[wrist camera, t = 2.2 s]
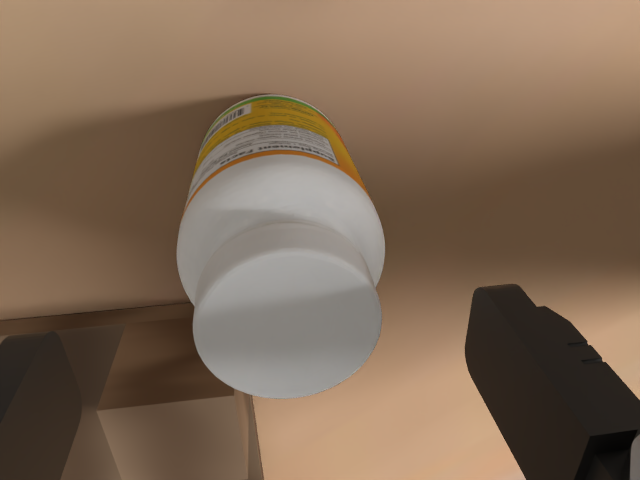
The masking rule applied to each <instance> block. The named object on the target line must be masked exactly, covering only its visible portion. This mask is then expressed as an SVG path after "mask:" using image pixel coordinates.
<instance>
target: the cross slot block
mask: <svg viewBox="0 0 640 480" xmlns="http://www.w3.org/2000/svg"><path fill="white" fill-rule="evenodd" d="M194 308H195V306H194V305H193V304H192V303H184V304H173V305H163V306H152V307H142V308H131V309H121V310H110V311H100V312H89V313H79V314H69V315H58V316H48V317H37V318H27V319H16V320H6V321H0V344H1V343H2V341H3V340H4V339H5V338H6V337H8V336H11V335H20V334H29V333H39V332H48V331H54V332H56V333H57V334H58V335H59V337H60V339H61V341H62V344H63V347H64V349H65V352H66V355H67V357H68V360H69V363H70V365H71V368H72V370H73V373H74V376H75V378H76V381H77V384H78V386H79V389H80V393H81V400H82V411H81V419H80V423H79V426H78V429H77V432H76V435H75V438H74V441H73V444H72V447H71V450H70V453H69V456H68V459H67V462H66V464H65V467H64V470H63V473H62V476H61V479H60V480H264V477H263V470H262V463H261V456H260V449H259V442H258V435H257V428H256V421H255V414H254V406H253V399H252V395H250V394H247V393H244V392H242V391H239V390H237V389H234V388H232V387H231V386H229V385H227V384H225V383H224V382H223V381H221V380H220V379H219V378H217V377H216V376H215V375H214V374H213V373H212V372H211V371H210V370H209V369H208V368H207V366H206V365H205V364H204V362H203V361H202V359H201V357H200V356H199V354H198V351H197V349H196V345H195V342H194V336H193V316H194Z"/></svg>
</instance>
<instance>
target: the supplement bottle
mask: <svg viewBox="0 0 640 480" xmlns="http://www.w3.org/2000/svg"><path fill="white" fill-rule="evenodd" d="M384 257H385V239H384V234H383V229H382V225H381V222H380V219H379V216H378V214H377V211H376V209H375V206H374V204H373V202H372V200H371V198H370V196H369V194H368V192H367V190H366V188H365V186H364V184H363V182H362V180H361V178H360V176H359V173H358V171H357V169H356V167H355V165H354V163H353V161H352V159H351V157H350V155H349V153H348V151H347V149H346V147H345V145H344V143H343V140H342V139H341V137H340V135H339V133H338V132H337V130H336V128H335V127H334V125H333V124H332V123H331V121H330V120H329V119H328V118H327V117H326V116H325V115H324V114H323V113H322V112H320V111H319V110H318V109H317V108H315V107H314V106H312V105H310V104H308V103H306V102H304V101H302V100H299V99H297V98H293V97H290V96H285V95H277V94H267V95H259V96H254V97H251V98H248V99H245V100H242V101H240V102H238V103H236V104H234V105H233V106H231V107H230V108H228V109H227V110H225V111H224V112H223V113H222V114H221V115H220V116H219V117H218V118H217V119H216V120H215V121H214V122H213V124H212V125H211V127H210V128H209V130H208V132H207V133H206V136H205V138H204V140H203V142H202V145H201V148H200V151H199V155H198V158H197V162H196V166H195V170H194V174H193V178H192V181H191V185H190V189H189V193H188V197H187V201H186V204H185V208H184V212H183V215H182V219H181V223H180V229H179V235H178V241H177V266H178V272H179V276H180V279H181V282H182V285H183V288H184V290H185V292H186V294H187V295H188V297H189V299H190V301H191V302H192V304H193V305H194V306H195V308H194V316H193V336H194V342H195V345H196V349H197V351H198V354H199V356H200V357H201V359H202V361H203V362H204V364H205V365H206V366H207V368H208V369H209V370H210V371H211V372H212V373H213V374H214V375H215V376H216V377H217V378H219V379H220V380H221V381H223V382H224V383H225V384H227V385H229V386H231V387H232V388H234V389H237V390H239V391H242V392H244V393H247V394H250V395H254V396H259V397H264V398H274V399H289V398H298V397H304V396H309V395H313V394H316V393H319V392H322V391H325V390H327V389H329V388H332V387H334V386H335V385H337V384H339V383H341V382H342V381H344V380H346V379H347V378H348V377H350V376H351V375H352V374H354V373H355V372H356V371H357V370H358V369H359V368H360V367H361V366H362V365H363V364H364V363H365V361H366V360H367V359H368V357H369V356H370V354H371V353H372V351H373V350H374V348H375V346H376V343H377V341H378V338H379V335H380V331H381V324H382V311H381V304H380V300H379V297H378V294H377V291H376V286H377V284H378V282H379V279H380V276H381V273H382V270H383V266H384Z"/></svg>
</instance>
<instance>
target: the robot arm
mask: <svg viewBox="0 0 640 480" xmlns="http://www.w3.org/2000/svg"><path fill="white" fill-rule="evenodd" d="M465 358H466V363H467V367H468V371H469V373H470V376H471V378H472V380H473V381H474V383H475V385H476V387H477V389H478V391H479V393H480V394H481V396H482V398H483V400H484V402H485V404H486V406H487V407H488V409H489V411H490V413H491V415H492V417H493V419H494V420H495V422H496V424H497V426H498V428H499V430H500V432H501V433H502V435H503V437H504V439H505V441H506V443H507V445H508V446H509V448H510V450H511V452H512V454H513V456H514V458H515V459H516V461H517V463H518V465H519V467H520V469H521V471H522V472H523V474H524V476H525V478H526V480H640V400H639V399H638V398H637V397H636V396H635V395H634V393H633V392H632V391H631V390H630V389H629V388H628V387H627V385H626V384H625V383H624V382H623V381H622V380H621V379H620V378H619V376H618V375H617V374H616V373H615V372H614V371H613V370H612V369H611V367H610V366H609V365H608V364H607V363H606V362H603V361H602V357H601V356H600V355H599V354H598V353H597V352H596V350H595V349H594V348H593V347H592V346H591V345H589V346H588V344H587V340H586V339H585V338H584V337H583V336H582V335H581V334H580V332H579V331H578V330H577V329H576V328H575V327H574V326H573V325H572V323H571V322H570V321H568V320H567V319H565V318H563V317H562V316H560V315H559V314H557V313H555V312H554V311H552V310H551V309H549V308H548V307H546V306H541V307H536V305H535V304H534V303H533V302H532V301H531V299H530V298H529V297H528V296H527V295H526V293H525V292H524V291H523V290H522V289H521V288H520V286H518V285H517V284H506V285H497V286H487V287H479V288H477V289H476V290H475V291H474V294H473V298H472V305H471V311H470V317H469V324H468V330H467V336H466V343H465ZM81 411H82V400H81V393H80V389H79V386H78V384H77V381H76V378H75V376H74V373H73V370H72V368H71V365H70V363H69V360H68V357H67V355H66V352H65V349H64V347H63V344H62V341H61V339H60V337H59V335H58V334H57V333H56V332H54V331H48V332H39V333H29V334H20V335H11V336H8V337H6V338H5V339H4V340H3V341H2V343H1V344H0V480H60V479H61V476H62V473H63V470H64V467H65V464H66V462H67V459H68V456H69V453H70V450H71V447H72V444H73V441H74V438H75V435H76V432H77V429H78V426H79V423H80V419H81Z"/></svg>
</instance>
